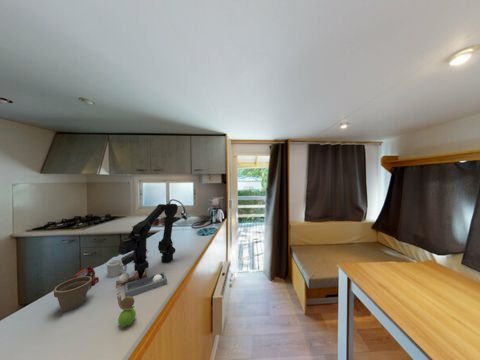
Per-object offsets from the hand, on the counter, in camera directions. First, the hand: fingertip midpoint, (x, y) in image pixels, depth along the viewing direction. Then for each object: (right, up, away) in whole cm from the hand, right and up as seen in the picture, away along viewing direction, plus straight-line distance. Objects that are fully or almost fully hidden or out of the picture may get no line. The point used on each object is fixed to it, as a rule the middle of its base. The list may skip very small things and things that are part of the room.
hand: (139, 275), depth 89 cm
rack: (-3, -2, -2) cm, 4 cm away
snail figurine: (+12, -2, -28) cm, 31 cm away
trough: (+8, -2, -8) cm, 11 cm away
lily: (-14, -3, +22) cm, 26 cm away
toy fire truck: (-23, -2, -8) cm, 24 cm away
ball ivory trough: (+12, -2, -5) cm, 13 cm away
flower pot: (-16, -2, -20) cm, 26 cm away
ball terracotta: (0, -1, 0) cm, 1 cm away
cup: (-15, -2, +4) cm, 16 cm away
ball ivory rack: (-6, -1, -4) cm, 7 cm away
